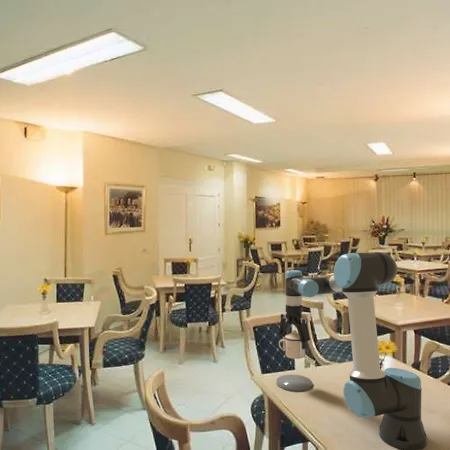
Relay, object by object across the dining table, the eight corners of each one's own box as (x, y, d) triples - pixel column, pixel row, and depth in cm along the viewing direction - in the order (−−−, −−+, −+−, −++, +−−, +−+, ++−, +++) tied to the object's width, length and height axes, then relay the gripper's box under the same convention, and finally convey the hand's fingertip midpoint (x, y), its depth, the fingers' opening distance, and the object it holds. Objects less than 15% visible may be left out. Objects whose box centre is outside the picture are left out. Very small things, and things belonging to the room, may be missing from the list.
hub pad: (318, 387, 184) (318, 385, 184) (287, 393, 178) (287, 390, 178) (299, 375, 199) (299, 372, 199) (270, 380, 193) (270, 377, 193)
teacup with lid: (305, 353, 192) (305, 328, 192) (304, 359, 183) (303, 333, 183) (280, 351, 195) (279, 327, 195) (277, 358, 186) (277, 332, 186)
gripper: (318, 306, 182) (318, 357, 183) (280, 299, 198) (280, 345, 199) (308, 309, 177) (308, 361, 177) (270, 301, 193) (270, 349, 194)
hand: (293, 352), depth 188 cm, fingers closed on teacup with lid, 9 cm apart
